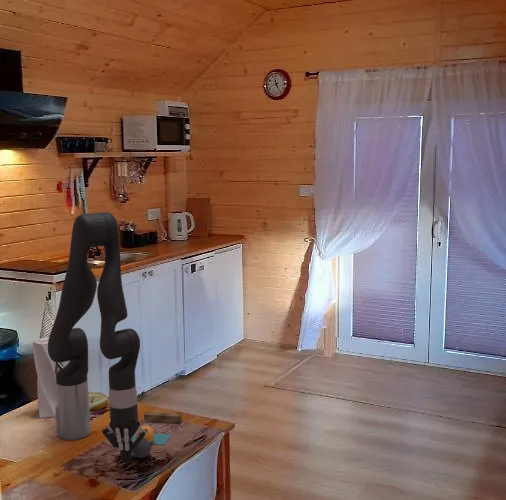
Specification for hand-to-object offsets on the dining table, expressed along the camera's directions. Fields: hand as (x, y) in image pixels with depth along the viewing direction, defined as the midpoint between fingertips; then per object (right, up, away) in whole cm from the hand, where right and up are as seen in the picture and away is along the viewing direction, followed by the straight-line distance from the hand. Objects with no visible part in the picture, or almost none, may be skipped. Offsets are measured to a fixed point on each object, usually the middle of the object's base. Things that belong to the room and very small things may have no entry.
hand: (126, 461), depth 176 cm
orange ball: (+3, +3, +14) cm, 14 cm away
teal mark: (+4, +1, +17) cm, 18 cm away
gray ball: (+3, +2, +5) cm, 6 cm away
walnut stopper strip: (+6, +3, +29) cm, 30 cm away
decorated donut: (-21, +4, +44) cm, 49 cm away
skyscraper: (-33, +3, +37) cm, 50 cm away
